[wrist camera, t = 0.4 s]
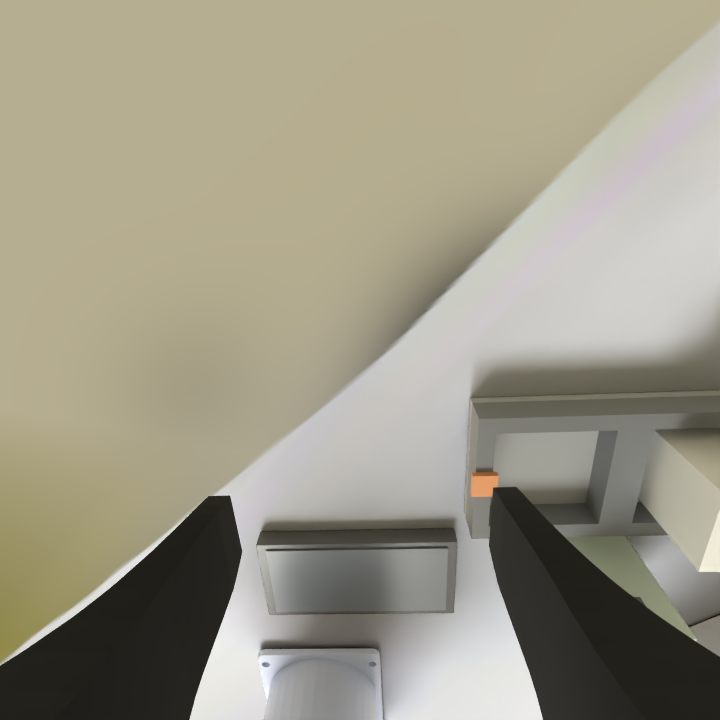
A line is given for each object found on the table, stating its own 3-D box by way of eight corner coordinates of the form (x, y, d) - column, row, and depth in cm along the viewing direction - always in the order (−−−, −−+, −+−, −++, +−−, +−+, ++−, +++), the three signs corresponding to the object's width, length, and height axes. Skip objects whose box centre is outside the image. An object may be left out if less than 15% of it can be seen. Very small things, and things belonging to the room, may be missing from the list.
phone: (451, 597, 27) (454, 614, 26) (272, 599, 27) (268, 616, 26) (454, 528, 25) (457, 543, 24) (260, 531, 25) (255, 546, 24)
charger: (612, 586, 26) (675, 696, 21) (543, 587, 26) (588, 696, 21) (624, 534, 25) (697, 638, 19) (551, 535, 25) (602, 638, 19)
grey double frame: (727, 505, 24) (762, 538, 21) (460, 510, 24) (468, 543, 22) (768, 388, 21) (812, 413, 19) (465, 398, 22) (476, 422, 19)
